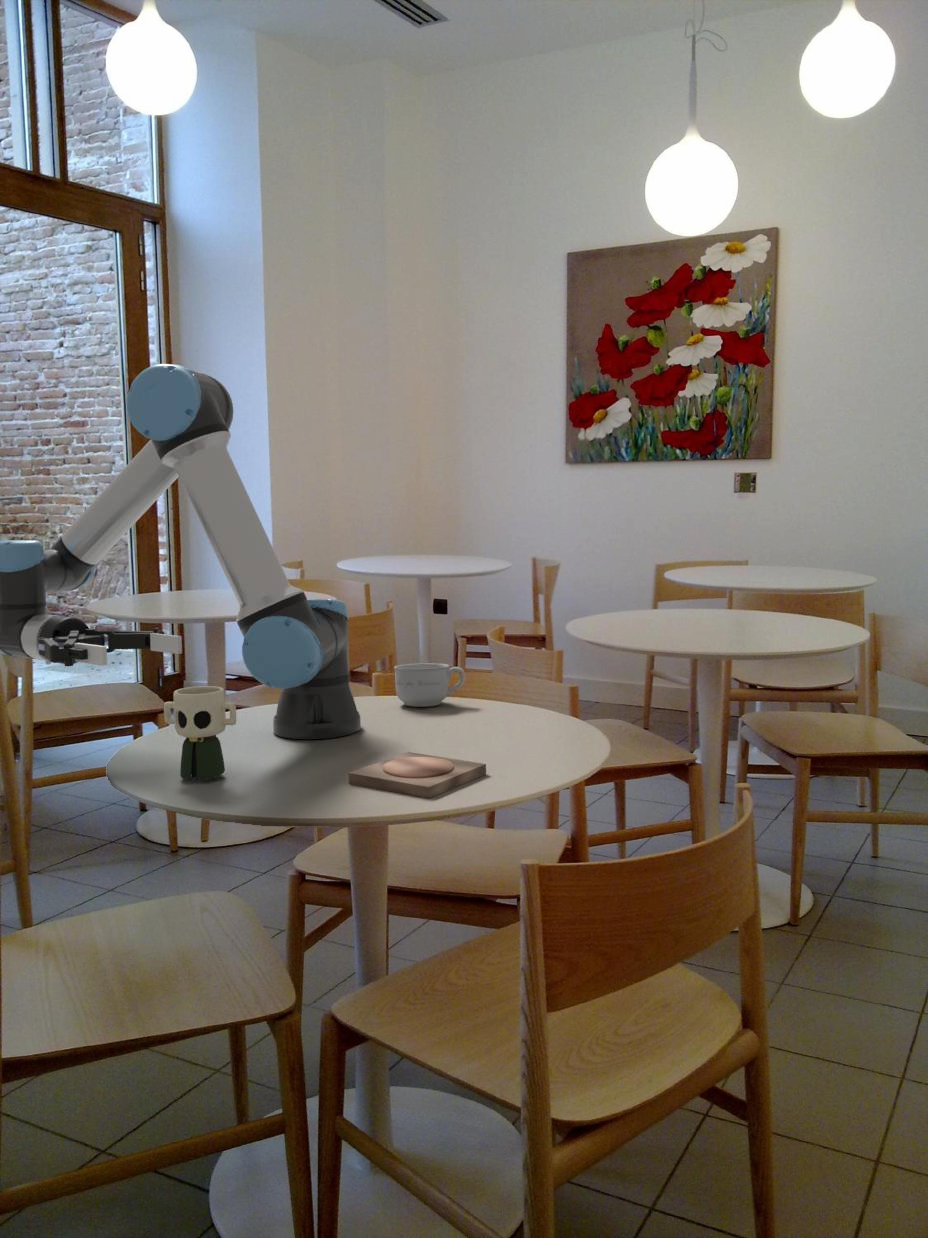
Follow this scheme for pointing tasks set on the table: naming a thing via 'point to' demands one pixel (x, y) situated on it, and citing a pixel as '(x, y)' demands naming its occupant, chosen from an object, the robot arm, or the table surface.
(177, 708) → the character mug
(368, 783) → the walnut board
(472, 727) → the table surface
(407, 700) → the teacup
